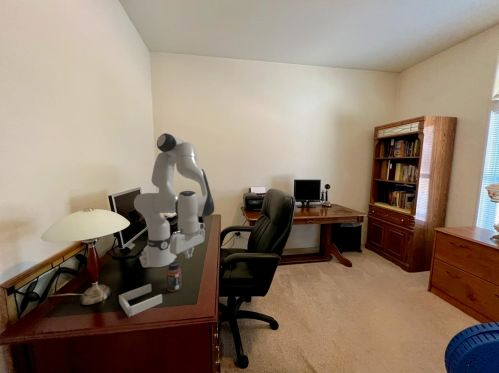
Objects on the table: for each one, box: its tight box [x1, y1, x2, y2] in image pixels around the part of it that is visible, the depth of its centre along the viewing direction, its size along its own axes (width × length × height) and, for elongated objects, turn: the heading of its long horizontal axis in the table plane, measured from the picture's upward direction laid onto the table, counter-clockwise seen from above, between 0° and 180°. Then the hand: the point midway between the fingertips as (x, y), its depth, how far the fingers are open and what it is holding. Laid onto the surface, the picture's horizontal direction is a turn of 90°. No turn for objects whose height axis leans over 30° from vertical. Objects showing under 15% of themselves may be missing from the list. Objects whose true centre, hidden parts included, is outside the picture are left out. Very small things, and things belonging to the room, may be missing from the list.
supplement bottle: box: [166, 261, 182, 293], centre depth 95 cm, size 6×6×11 cm
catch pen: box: [118, 283, 163, 318], centre depth 86 cm, size 12×12×3 cm
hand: (188, 257), depth 99 cm, fingers closed
